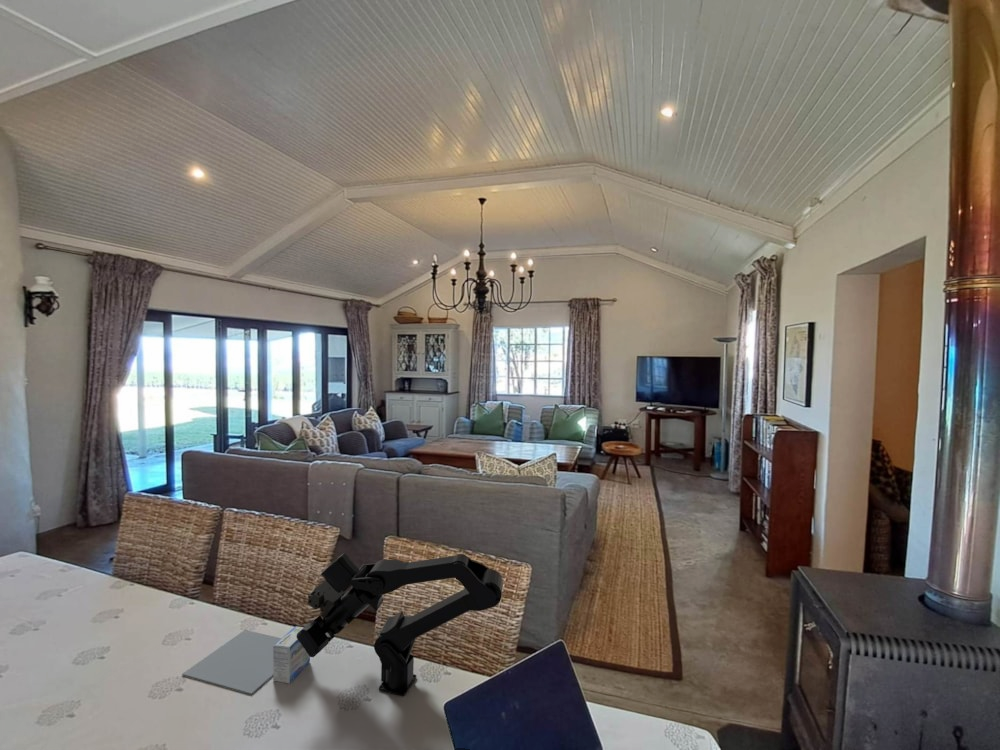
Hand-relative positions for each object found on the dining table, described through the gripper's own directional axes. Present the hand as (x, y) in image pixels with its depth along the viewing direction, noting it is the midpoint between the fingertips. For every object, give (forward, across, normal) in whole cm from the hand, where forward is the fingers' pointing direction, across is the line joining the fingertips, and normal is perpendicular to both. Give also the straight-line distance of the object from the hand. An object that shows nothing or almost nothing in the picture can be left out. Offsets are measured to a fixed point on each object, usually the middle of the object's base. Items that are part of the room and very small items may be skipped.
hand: (311, 640), depth 108 cm
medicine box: (+8, +2, +3) cm, 9 cm away
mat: (+17, +2, -7) cm, 18 cm away
